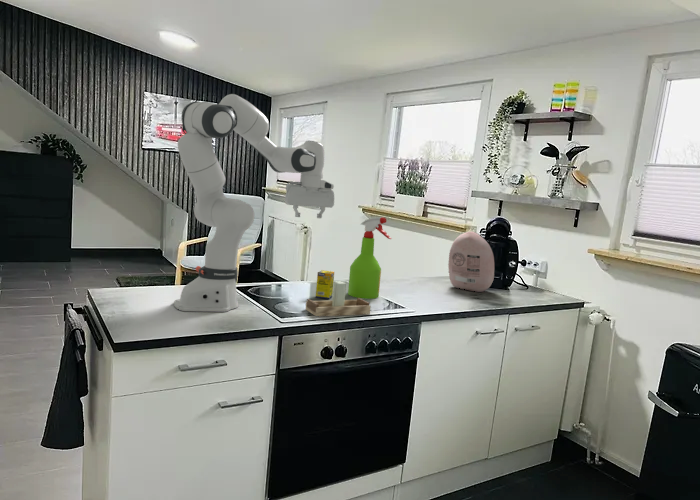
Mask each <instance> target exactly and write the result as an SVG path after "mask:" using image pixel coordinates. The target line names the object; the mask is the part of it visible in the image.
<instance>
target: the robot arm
mask: <svg viewBox="0 0 700 500" xmlns="http://www.w3.org/2000/svg"><path fill="white" fill-rule="evenodd" d="M181 123H182V124H181V126H182V127H181V129H182V133H183V135H182V136H180V138H179V139H178V142H177V148H178V149H177V150H178V153H179V157H180V161H181V163H182V166H183V167H184V170H185V172H186V173H187V175H188V179H189V180H190V183H191V185H192V187H193V189H194V192H195V196H196V202H195V205H194V207H193V213H194V217H195V219H196V220H197V221H199V223H201V224H203V225H206V226H207V227H212V228H215V232H214V235H213V238H212V239H210V240H209V241H208V242H207V243H206V246H205V258H204V266H200V265H197V266H196V267H195V271H196V272H197V273H198V277H196V278H194V280H192V281H190V282H189V283H187V284H186V285H184V286H183V288H182V289H181V294H180V298H177V299H175V300H174V301H173V307H174V308H175V309H176V310H178V309H179V311H182V312H219V313H221V312H223V313H224V312H225V313H226V312H229V311H231V310H233V309H236V308H238V307H239V302H238V294H237V293H238V292H237V282H238V272H239V271H238V267H237V264H238V253H239V246H240V242H241V239H242V238H243V235H244V233H246V231H247V230H248V229H250V228H251V226H253V224H254V221H255V211H254V208H253V206H252V205H251V204H249V203H248V202H245V201H243V200H241V199H237V198H236V199H235V198H228V197H227V196H226V195H225V193H224V190H223V187H224V185H225V184H226V181H227V180H226V176H225V174H224V171H223V169H222V166H221V165H220V162H219V159H218V158H217V155H216V153H215V151H214V148H213V147H214V146H213V139H222V138H225V137H228V136H229V135H230V134H231V133H232V132H233V131H234V132H235V133H236V134H238V135H239V136H240V137H241V138H243V139H244V140H245V141H246V142H247V143H248V144H249V145H250V146H251V147H252V148H253V149H254V150H255V151H256V152H257V153H259V154H260V156H262V157H263V158H264V159H265V160H266V161H267V163H268V165H269V167H270V168H271V169H272V171H274V172H276V173H279V174H281V173H290V174H291V173H292V174H300V180H299V181H293V180H292V181H291V180H290V181H289V182H287V184H286V186H285V197H284V203H285V204H286V205H288V206H292V208H293V211H294V213H295V214H294V217H295V218H301V212H299V211H298V209H299V206H301V207H317V208H318V207H319V212H318V213H316V218H317V219H322V218H323V214H324V212H325V210H326V208H333V207H334V206H335V192H334V187H335V186H334V184H333V183H332V182H330V181H327V180H325V179H324V172H323V170H324V166H325V148H324V145H323V144H322V143H320V142H319V141H314V140H306V141H304V143H302V144H300V145H298V146H295V147H285V146H278V145H276V144H274V142H272V141H271V140H270V139H269V138H268V137H267V135H268V133H269V129H270V122H269V119H268V118H267V116H266V115H265V114H264V113H263V112H262V111H261V110H260V109H258V108H257V107H256V106H255V105H254V104H252V103H251V102H250V101H248V100H247V99H245V98H244V97H241V96H239V95H237V94H235V93H230V94H227V95H225V96H224V97H223V98H222V99H221V101H220V102H219V103H213V102H209V101H193V102H190V103H188V104H186V105H185V106H184V107H183V108H182V111H181Z"/></svg>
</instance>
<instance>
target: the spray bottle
mask: <svg viewBox="0 0 700 500" xmlns="http://www.w3.org/2000/svg"><path fill="white" fill-rule="evenodd" d="M386 223H387V218H386V217H383V216H382V217H370V218H367V219H365V220H363V221H362V222H361V223H360V225H362V226H364V233H363V237H362V240H361V247H360V254H359V255H358V256H356V258H355V259H354V260H353V262H352V264H351V265H350V267H349V278H348V290H347V295H348V296H350V297H352V298H356V299H357V298H361V299H363V300H365V299H366V300H372V299H373V300H375V299H378V298H379V297H380V295H379V294H380V287H381V286H380V285H381V275H382V268H381V266H380V264H379V262H378V260H377V259H376V257H375V255H374V254H375V253H374V251H375V236H374V235H375V234H374V231H375V230H377V231H378V232H379V233H381V235H383V236H384V237H385V238H386V239H387V240H392V239H393V238H392V237H390V235H389V234H387V232H386V230H385V231H384V229H383V225H382V224H386Z"/></svg>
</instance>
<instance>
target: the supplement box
mask: <svg viewBox="0 0 700 500" xmlns="http://www.w3.org/2000/svg"><path fill="white" fill-rule="evenodd" d="M334 279H335V271H331V270H323V269H321V270H319V271H318V272H317V277H316V289H315V298H316V299H323V300H330V299H332V298H333V289H334V281H335V280H334Z"/></svg>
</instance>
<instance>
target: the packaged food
mask: <svg viewBox="0 0 700 500" xmlns="http://www.w3.org/2000/svg"><path fill="white" fill-rule="evenodd" d="M495 264H496V262H495V255H494V251H493V249H492V247H491V245H490V243H489V242H488V240H487V239H485V238H484V237H483V236H482V235H481V234H479V232H478V233H477V232H476V231H466V232H464V233H461V234H459V235H458V236H457V237H456V238H455V239H454V241H453V242H452V244H451V247H450V249H449V255H448V264H447V265H448V266H447V267H448V277H449V281H450V283H451V285H452V286H453V287H454V288H457V289H459V288H460V289H461V290H464V289H465V290H466V291H470V292H474V291H475V292H476V293H481V292H482V293H483V292H485V291H487V290H488V289H489V288H491V286H492V283H494V282H493V281H494V278H495V271H496V267H495V266H496V265H495ZM465 290H464V291H465ZM475 292H474V293H475Z"/></svg>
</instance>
